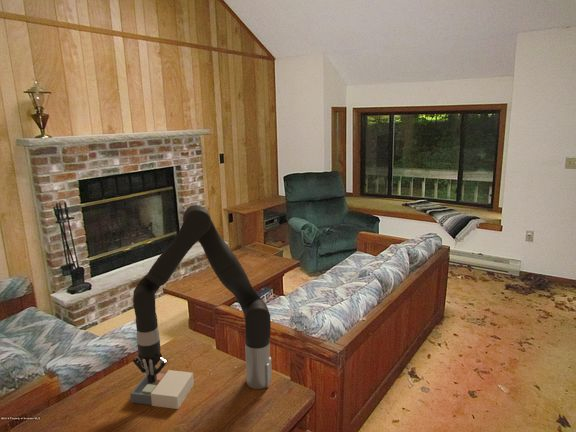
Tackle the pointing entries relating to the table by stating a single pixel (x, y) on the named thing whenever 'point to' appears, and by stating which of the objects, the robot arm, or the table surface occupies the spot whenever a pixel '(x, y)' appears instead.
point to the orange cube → (159, 378)
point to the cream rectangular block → (172, 389)
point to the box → (137, 393)
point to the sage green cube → (148, 389)
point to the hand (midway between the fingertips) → (152, 382)
